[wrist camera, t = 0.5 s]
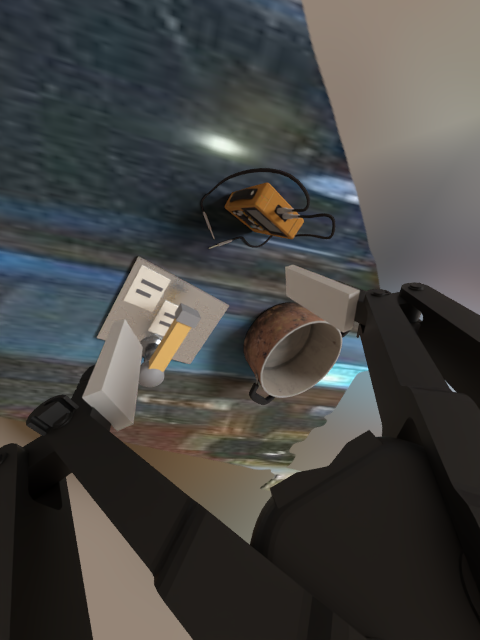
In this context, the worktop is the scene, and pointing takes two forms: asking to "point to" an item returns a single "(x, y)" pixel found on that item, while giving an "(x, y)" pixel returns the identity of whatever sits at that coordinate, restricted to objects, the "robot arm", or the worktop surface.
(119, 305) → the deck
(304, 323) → the cooking pot
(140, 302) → the label
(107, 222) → the worktop surface
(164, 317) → the label
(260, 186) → the multimeter
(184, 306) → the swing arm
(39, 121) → the worktop surface
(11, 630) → the robot arm
